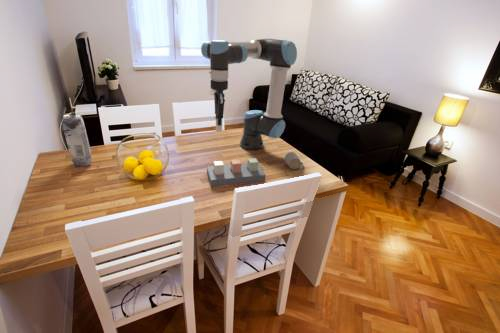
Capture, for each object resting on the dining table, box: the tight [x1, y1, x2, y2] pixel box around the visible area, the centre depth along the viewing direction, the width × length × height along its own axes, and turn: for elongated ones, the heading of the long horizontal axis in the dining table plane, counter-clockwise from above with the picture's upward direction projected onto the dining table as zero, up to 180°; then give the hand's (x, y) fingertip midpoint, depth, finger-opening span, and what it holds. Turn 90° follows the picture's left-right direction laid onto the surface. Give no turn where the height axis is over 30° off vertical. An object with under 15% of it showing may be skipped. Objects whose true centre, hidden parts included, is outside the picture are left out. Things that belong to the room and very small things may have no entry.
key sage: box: [247, 157, 259, 172], centre depth 145 cm, size 4×4×7 cm
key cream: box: [213, 160, 225, 175], centre depth 141 cm, size 4×4×7 cm
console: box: [206, 162, 266, 188], centre depth 145 cm, size 14×28×4 cm, turn 106°
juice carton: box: [61, 113, 92, 168], centre depth 143 cm, size 9×10×27 cm
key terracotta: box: [230, 159, 242, 174], centre depth 143 cm, size 4×4×7 cm
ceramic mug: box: [284, 151, 305, 170], centre depth 159 cm, size 11×8×8 cm
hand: (218, 130), depth 131 cm, fingers closed
